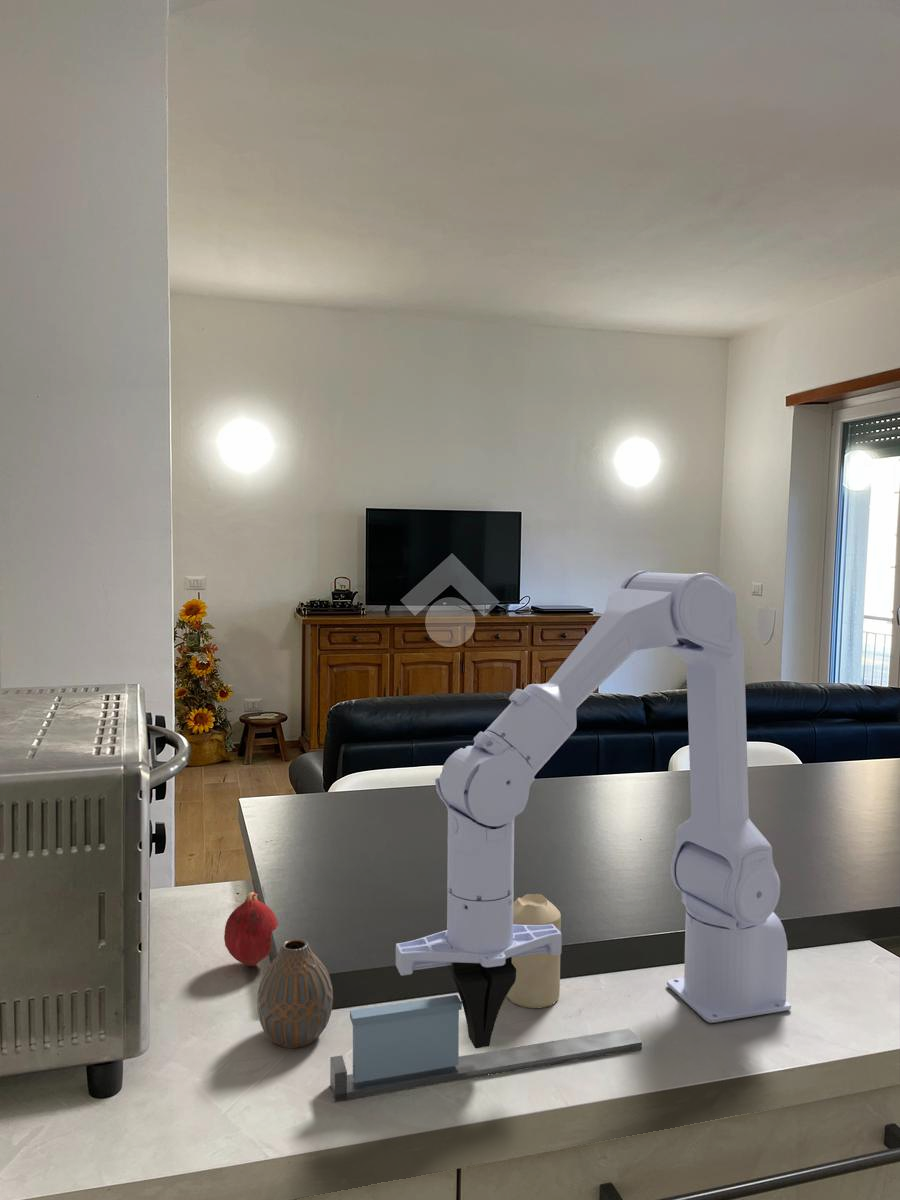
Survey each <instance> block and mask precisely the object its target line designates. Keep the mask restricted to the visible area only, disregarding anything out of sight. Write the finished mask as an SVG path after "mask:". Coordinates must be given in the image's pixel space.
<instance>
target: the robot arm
mask: <svg viewBox="0 0 900 1200" xmlns="http://www.w3.org/2000/svg"><path fill="white" fill-rule="evenodd" d="M737 615H738V614H737V593H736V591H734V590H733V589H732V588H730V587H729V586H728V585H727V584H726V583H725V582H724V581H722V580H721V579H720V578H719V577H717V576H715V574H714V575H713V574H711V573H708V572H697V573H676V572H674V573H673V572H672V573H671V572H655V571H649V570H639V571H636V572H633V573H632V574H630V575H629V576H627V577H626V578H625V579H624V581H623V582H622V584H621V585H620V587H619V588H617V589H615V590H614V591H613V592H612V593H611V594H610V595H609V596H608V599H607V604H606V608H605V610H604V612H603V614H602V615H601V616H600V617H599V618H598V620H597V621H596V622H595V623H594V625H593V626H592V627H590V629H589V631H588V632H587V633H586V634H585V636H584V637H583V638H582V639H581V641H580V642H579V643H578V645H576V647H575V648H574V649H573V650H572V652H571V653H570V654H569V656H568V657H567V658H566V659H565V661H564V662H563V663H562V664H561V666H560V667H559V668H558V669H557V671H555V673H554V674H553V675H552V677H550V679H549V680H548V681H547V682H545V683H531V684H528V685H527V686H525V687H524V689H520V688H516V689H515V690H514V691H513V692H512V693H511V694H510V695H509V697H508V701H510V703H509V704H508V705H507V707H505V709H504V710H503V711H502V712H501V713H500V714H498V715H499V716H497V718H496V719H495V720H494V721H493V722H492V723H491V724H490V725H489V726H487V729H485V730H484V731H482V730H481V731H479V732H478V733H477V734H476V735H475V736H474V737H473V741H474V743H473V745H467V746H465V748H463V747H461V748H459V749H456V750H455V751H454V752H453V753H452V754H451V755H449V756H448V758H447V759H446V760H445V762H444V764H443V766H442V768H441V769H442V771H441V773H440V776H439V777H436V778H435V780H434V783H435V788H436V792H437V795H438V796H439V798H440V800H441V801H442V802H443V803H444V805H445V806H446V810H447V865H446V866H447V870H446V871H447V874H446V875H447V881H446V882H447V883H446V885H447V887H446V888H447V889H446V890H447V894H446V900H447V901H446V907H447V908H446V920H447V921H446V930H442V931H439V932H436V933H433V934H430V935H426V936H424V937H420V938H417V939H413V940H408V941H405V942H399V943H395V967H396V968H397V970H398V973H399V974H400V976H403V977H404V976H409V975H412V974H413V973H414V971H417V970H425V969H426V970H427V969H433V968H438V967H439V968H440V967H447V969H448V971H449V974H450V975H451V978H452V980H453V983H454V984H455V987H456V990H457V992H458V996H459V999H460V1001H461V1002H462V1009H463V1011H464V1016H465V1020H466V1021H465V1022H466V1026H467V1034H468V1038H469V1040H470V1041H471V1043H472V1045H473V1047H474V1048H475V1049H480V1048H487V1047H490V1046H491V1041H492V1035H493V1032H494V1029H495V1026H496V1025H495V1024H496V1023H497V1019H498V1016H499V1013H500V1009H501V1008H502V1006H503V1003H504V1001H505V999H506V998H507V996H506V995H507V994H508V992H509V990H510V989H511V987H512V986H513V984H514V983H515V980H516V968H515V967H514V965H513V964H512V957H516V956H523V955H531V954H538V953H546V952H548V953H549V954H550V955H559V954H560V955H561V954H562V940H563V939H562V937H563V935H562V934H563V933H562V932H560V931H559V930H558V929H557V928H556V927H555V926H554V925H553V924H550V925H513V903H514V897H515V896H514V895H515V894H514V891H515V890H514V884H515V883H514V871H515V870H514V869H515V867H514V865H515V860H514V859H515V856H514V855H515V818H516V817H517V816H518V815H520V814H522V813H523V812H524V810H525V808H526V806H527V803H528V800H529V797H530V789H531V785H532V784H533V782H534V781H535V780H536V778H535V776H536V775H537V773H538V772H539V771H540V770H542V768H543V767H544V765H545V764H546V763H547V762H548V761H549V760H550V759H551V757H553V755H554V754H555V753H556V752H557V751H558V750H559V749H560V748H561V746H563V744H564V743H565V742H566V741H567V740H568V739H569V737H570V736H571V735H572V734H573V733H574V732H575V731H576V729H577V725H578V724H577V708H579V706H580V705H582V703H583V702H584V701H586V700H587V699H588V698H589V697H590V696H591V695H592V694H593V693H594V692H595V691H596V690H597V689H598V688H599V687H600V686H601V685H602V684H603V683H604V682H606V680H607V679H608V678H609V677H611V675H612V674H613V673H614V672H616V670H618V668H620V667H621V666H622V665H623V663H625V661H627V660H628V659H629V658H630V657H631V656H632V655H633V654H634V653H635V652H637V651H641V650H648V649H656V648H658V649H659V648H663V647H665V648H667V650H669V651H670V652H671V653H673V654H674V655H675V656H676V657H678V659H680V660H681V661H682V662H683V663H685V667H686V693H687V695H686V696H687V697H686V698H687V699H686V700H687V722H688V725H687V726H688V751H689V752H688V753H689V758H688V759H689V782H690V805H691V806H690V808H691V809H690V810H691V815H690V817H689V818H688V819H687V820H686V821H684V822H683V823H682V824H680V825H679V826H678V827H677V828H676V830H675V831H676V835H675V836H676V844H675V848H674V850H673V853H672V855H671V862H670V867H669V870H670V871H669V872H670V877H671V881H672V883H673V885H674V886H675V888H676V889H677V890H679V891H680V892H681V903H682V904H683V905H684V907H685V922H684V923H685V928H684V930H685V934H684V935H685V936H684V937H685V939H684V977H677V978H672V979H671V978H670V979H668V980H667V981H666V986H668V987H669V989H670V990H672V991H673V992H674V993H675V994H676V996H678V997H680V998H681V1000H683V1001H684V1002H685V1003H686V1004H687V1005H688V1006H689V1008H691V1009H693V1011H695V1013H697V1014H698V1015H699V1016H700V1017H701V1018H702V1019H703V1020H704V1021H705V1022H706V1023H711V1024H713V1023H714V1024H715V1023H720V1022H726V1021H732V1020H737V1019H744V1018H749V1017H755V1016H762V1015H767V1014H773V1013H779V1012H785V1011H786V1012H787V1011H790V1010H791V1009H792V1004H791V1003H790V1002H788V1001H787V977H788V976H787V971H788V941H787V939H788V938H787V934H786V932H785V931H786V930H785V928H784V925H783V923H782V921H781V919H780V918H779V916H778V915H777V914H776V913H775V912H774V911H775V909H776V907H777V905H778V903H779V900H780V895H781V880H780V879H781V878H780V876H779V873H778V871H777V869H776V867H775V864H774V860H773V847H772V845H771V843H770V842H769V841H768V840H767V838H766V837H765V836H764V834H762V833H761V831H760V830H759V829H758V828H757V826H756V825H755V824H754V823H753V822H752V820H751V819H750V812H749V811H750V810H749V807H750V806H749V773H748V770H749V769H748V741H747V739H748V738H747V737H748V736H747V706H746V705H747V704H746V703H747V701H746V699H747V698H746V671H745V669H746V668H745V666H746V664H745V646H744V645H745V644H744V639H743V636H742V633H741V631H740V627H739V625H738V622H737V621H738V620H737V617H738V616H737Z"/></svg>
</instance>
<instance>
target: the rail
mask: <svg viewBox="0 0 900 1200" xmlns="http://www.w3.org/2000/svg"><path fill="white" fill-rule="evenodd" d="M642 1049H643V1041H641V1039H640V1038H639V1037H638V1036H637V1035H636V1034H635V1033H634V1031H633V1030H632V1029H631V1028H624V1029H623V1028H622V1029H618V1030H612V1031H607V1032H606V1031H605V1032H600V1033H593V1034H588V1035H581V1036H575V1037H569V1038H568V1037H567V1038H564V1039H563V1038H562V1039H558V1040H552V1041H545V1042H544V1041H543V1042H538V1043H533V1044H527V1045H521V1046H516V1047H509V1048H503V1049H497V1050H491V1051H490V1050H489V1051H485V1052H478V1053H473V1054H466V1055H461V1056H459V1060H458V1065H457V1066H451V1067H445V1068H439V1069H433V1070H427V1071H421V1072H415V1073H409V1074H404V1075H398V1076H392V1077H386V1078H380V1079H374V1080H368V1081H362V1082H356V1083H355V1082H354V1078H353V1073H351V1074H348V1070H347V1068H346V1064H345V1063H346V1062H345V1060H344V1058H343V1057H344V1056H343V1055H336V1056H335V1055H334V1056H330V1061H329V1063H330V1064H329V1065H330V1071H329V1072H330V1073H329V1074H330V1076H329V1077H330V1079H329V1081H330V1088H331V1089H330V1090H331V1092H332V1096H333V1100H334V1102H335V1103H337V1102H343V1101H349V1100H354V1099H359V1098H365V1097H366V1098H367V1097H372V1096H377V1095H383V1094H389V1093H395V1092H401V1091H405V1090H406V1091H407V1090H412V1089H416V1088H424V1087H428V1086H433V1085H434V1086H435V1085H440V1084H441V1085H442V1084H446V1083H451V1082H458V1081H463V1080H468V1079H475V1077H476V1078H481V1076H482V1077H487V1076H492V1075H491V1074H493V1075H497V1074H496V1073H499V1074H503V1072H505V1073H510V1071H511V1072H515V1071H520V1070H521V1069H522V1070H527V1068H528V1069H532V1068H533V1069H534V1068H538V1067H543V1066H549V1065H555V1064H561V1063H567V1062H572V1061H573V1062H574V1061H579V1060H584V1059H590V1058H596V1057H602V1056H607V1055H614V1054H619V1053H624V1052H625V1053H627V1052H631V1051H637V1050H642ZM488 1074H489V1075H488Z"/></svg>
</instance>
